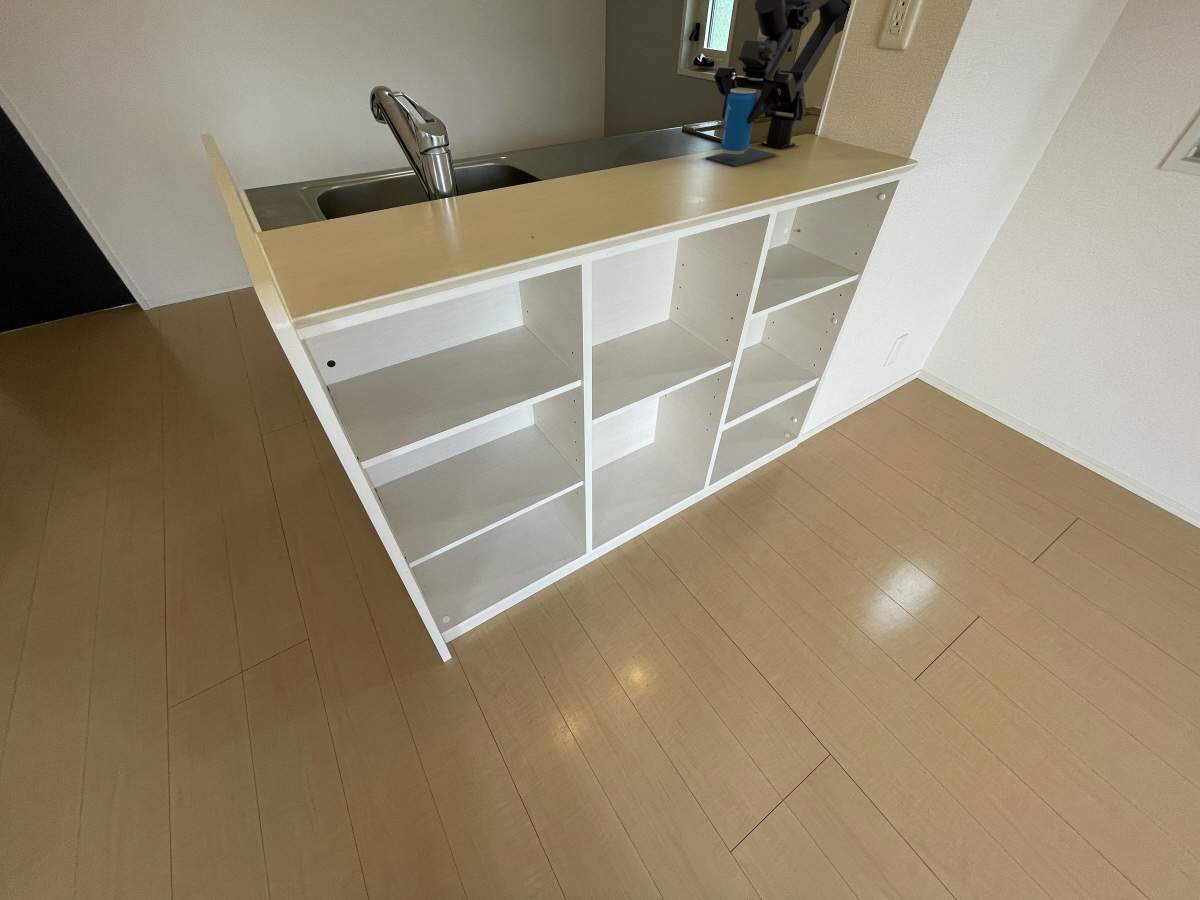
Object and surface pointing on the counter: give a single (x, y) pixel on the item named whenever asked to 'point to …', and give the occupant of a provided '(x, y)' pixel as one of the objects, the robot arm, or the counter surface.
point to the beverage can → (738, 120)
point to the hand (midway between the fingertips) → (735, 120)
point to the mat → (741, 157)
